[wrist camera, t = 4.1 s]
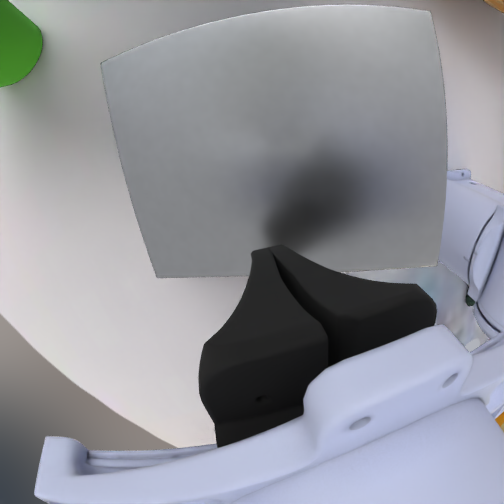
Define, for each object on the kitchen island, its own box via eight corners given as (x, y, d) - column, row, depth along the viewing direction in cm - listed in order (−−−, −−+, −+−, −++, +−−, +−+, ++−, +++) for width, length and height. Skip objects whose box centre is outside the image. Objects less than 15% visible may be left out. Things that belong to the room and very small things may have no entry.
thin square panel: (425, 14, 7) (431, 10, 7) (433, 259, 13) (437, 266, 12) (108, 63, 11) (100, 62, 10) (161, 271, 16) (156, 278, 15)
